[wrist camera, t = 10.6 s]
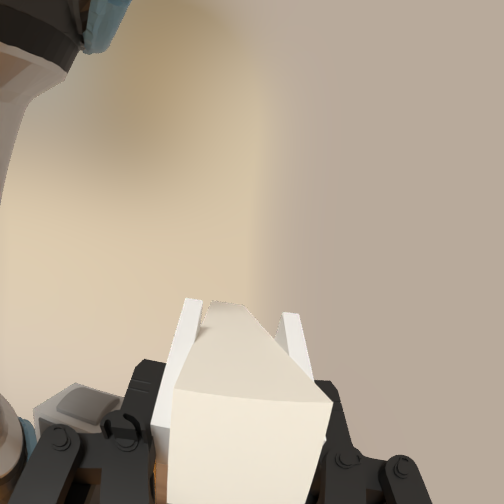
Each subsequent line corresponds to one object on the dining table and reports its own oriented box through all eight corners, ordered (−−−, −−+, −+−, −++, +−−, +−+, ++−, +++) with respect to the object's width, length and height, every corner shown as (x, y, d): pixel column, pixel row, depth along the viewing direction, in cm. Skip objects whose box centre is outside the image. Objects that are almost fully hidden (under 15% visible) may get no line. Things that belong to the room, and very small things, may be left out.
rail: (302, 511, 6) (333, 402, 6) (166, 503, 5) (173, 388, 6) (239, 335, 34) (243, 304, 34) (207, 331, 33) (212, 300, 34)
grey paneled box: (81, 448, 46) (79, 371, 48) (140, 466, 46) (143, 389, 48) (41, 491, 28) (25, 401, 29) (113, 521, 28) (106, 433, 30)
